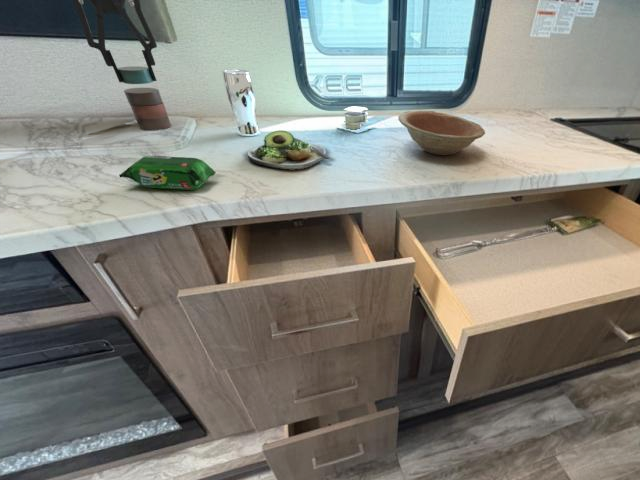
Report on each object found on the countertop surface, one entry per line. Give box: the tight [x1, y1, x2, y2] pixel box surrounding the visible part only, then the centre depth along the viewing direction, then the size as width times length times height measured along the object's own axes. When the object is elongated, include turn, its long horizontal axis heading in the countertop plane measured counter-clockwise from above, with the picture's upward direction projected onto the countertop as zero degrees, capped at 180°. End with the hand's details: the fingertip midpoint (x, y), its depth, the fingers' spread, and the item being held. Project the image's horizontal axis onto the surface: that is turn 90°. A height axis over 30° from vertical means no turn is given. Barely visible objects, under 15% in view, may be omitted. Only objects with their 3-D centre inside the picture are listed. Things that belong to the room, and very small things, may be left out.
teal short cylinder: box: [117, 65, 154, 85], centre depth 88 cm, size 7×7×3 cm
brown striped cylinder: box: [123, 87, 172, 131], centre depth 94 cm, size 8×8×9 cm
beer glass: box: [221, 69, 261, 137], centre depth 92 cm, size 7×7×15 cm
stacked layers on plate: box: [343, 106, 369, 130], centre depth 105 cm, size 10×9×6 cm
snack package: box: [118, 155, 216, 191], centre depth 66 cm, size 7×16×5 cm, turn 92°
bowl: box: [397, 110, 486, 156], centre depth 92 cm, size 24×24×8 cm
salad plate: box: [246, 130, 331, 171], centre depth 82 cm, size 19×18×5 cm
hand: (138, 80), depth 89 cm, fingers closed on teal short cylinder, 7 cm apart
